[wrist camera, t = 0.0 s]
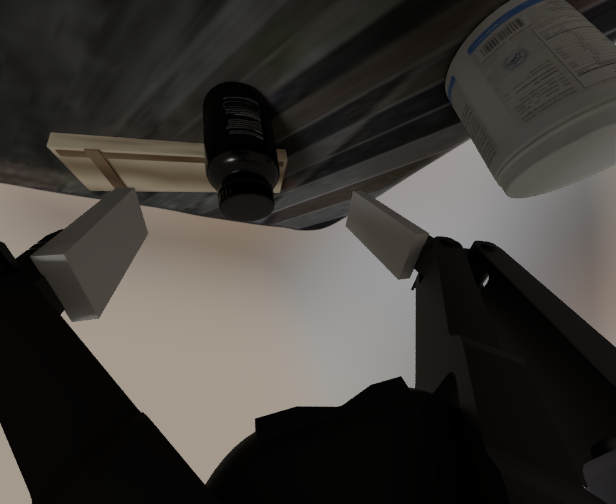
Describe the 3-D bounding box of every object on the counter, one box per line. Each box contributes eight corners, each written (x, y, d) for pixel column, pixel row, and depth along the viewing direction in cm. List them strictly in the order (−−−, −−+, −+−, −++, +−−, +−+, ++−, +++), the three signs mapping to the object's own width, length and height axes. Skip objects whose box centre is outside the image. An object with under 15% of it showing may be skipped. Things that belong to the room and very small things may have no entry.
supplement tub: (499, 92, 28) (567, 192, 23) (425, 103, 27) (478, 208, 22) (592, -26, 19) (739, 98, 14) (483, -13, 18) (594, 120, 13)
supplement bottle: (189, 112, 23) (189, 213, 19) (229, 60, 20) (239, 171, 16) (243, 148, 29) (252, 232, 24) (282, 112, 25) (300, 204, 21)
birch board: (50, 132, 23) (46, 148, 22) (285, 149, 30) (287, 161, 29) (92, 178, 29) (89, 192, 28) (278, 183, 36) (279, 194, 35)
